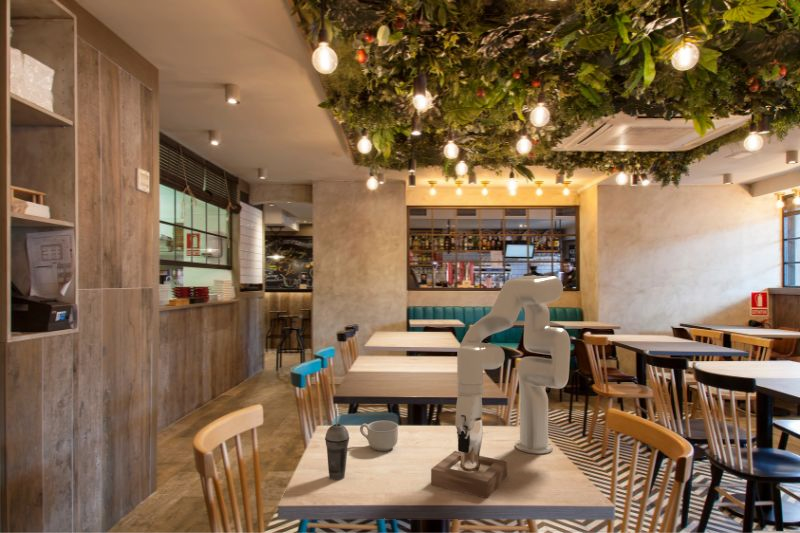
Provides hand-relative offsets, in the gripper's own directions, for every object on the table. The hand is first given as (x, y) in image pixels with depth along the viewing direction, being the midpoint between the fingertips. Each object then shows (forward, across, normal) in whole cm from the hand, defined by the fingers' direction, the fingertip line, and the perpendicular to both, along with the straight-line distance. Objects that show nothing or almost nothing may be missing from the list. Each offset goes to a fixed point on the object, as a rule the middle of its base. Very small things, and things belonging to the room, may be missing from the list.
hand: (469, 446), depth 146 cm
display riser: (+10, 0, 0) cm, 10 cm away
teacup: (+10, -10, -38) cm, 41 cm away
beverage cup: (+10, +18, -35) cm, 41 cm away
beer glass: (+7, 0, 0) cm, 7 cm away
